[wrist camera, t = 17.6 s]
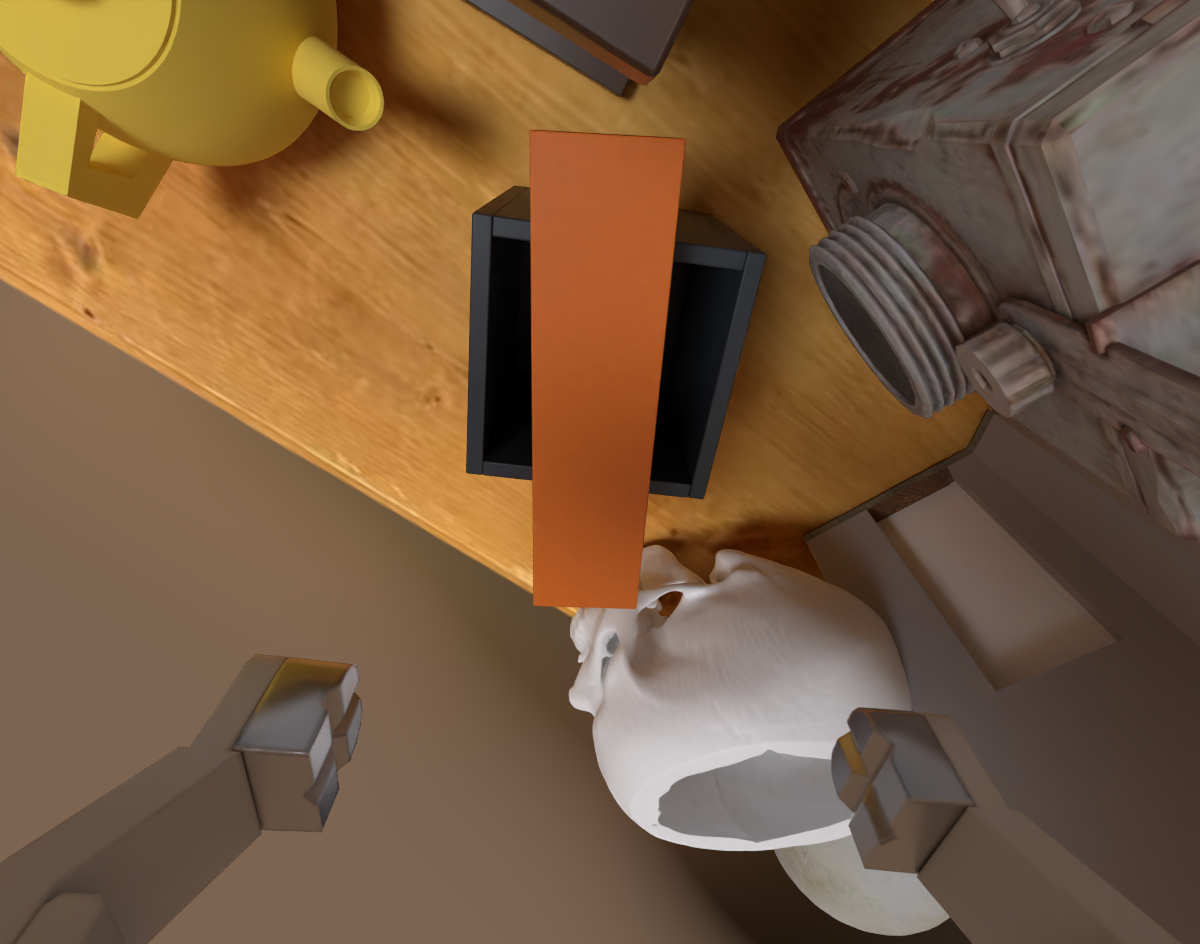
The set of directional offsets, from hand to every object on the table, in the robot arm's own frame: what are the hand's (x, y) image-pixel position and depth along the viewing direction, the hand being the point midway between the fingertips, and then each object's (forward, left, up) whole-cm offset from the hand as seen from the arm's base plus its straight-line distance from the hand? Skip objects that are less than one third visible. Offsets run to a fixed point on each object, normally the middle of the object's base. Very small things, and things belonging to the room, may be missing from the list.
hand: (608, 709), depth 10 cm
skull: (-7, +19, -29) cm, 35 cm away
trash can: (0, 0, -27) cm, 27 cm away
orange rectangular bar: (0, +1, -15) cm, 16 cm away
